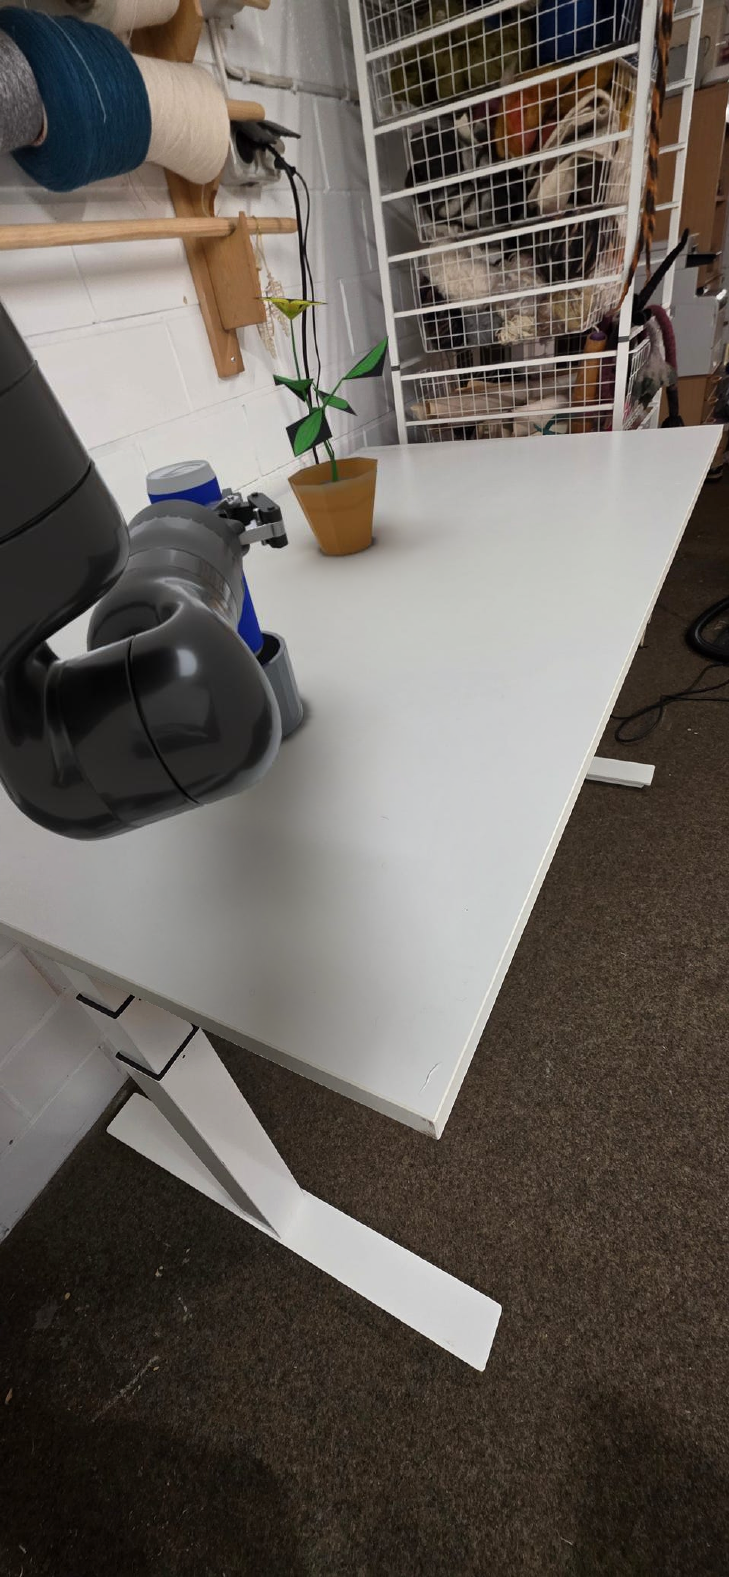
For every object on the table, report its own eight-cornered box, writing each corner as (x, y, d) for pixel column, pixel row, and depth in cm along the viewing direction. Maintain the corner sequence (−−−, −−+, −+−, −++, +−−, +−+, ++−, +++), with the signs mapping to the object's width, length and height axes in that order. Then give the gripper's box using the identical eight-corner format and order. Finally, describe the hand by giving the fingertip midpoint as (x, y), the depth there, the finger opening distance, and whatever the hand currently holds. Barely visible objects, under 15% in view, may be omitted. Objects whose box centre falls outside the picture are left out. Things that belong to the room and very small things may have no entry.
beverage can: (232, 638, 61) (176, 460, 52) (277, 644, 58) (226, 457, 49) (194, 666, 57) (127, 481, 48) (240, 673, 55) (177, 479, 46)
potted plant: (372, 574, 86) (325, 284, 67) (260, 566, 95) (191, 309, 77) (435, 524, 97) (410, 263, 78) (329, 521, 106) (284, 287, 88)
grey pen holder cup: (210, 761, 58) (184, 692, 54) (205, 711, 65) (182, 646, 61) (310, 734, 59) (292, 663, 55) (295, 687, 66) (278, 621, 62)
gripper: (281, 491, 37) (271, 437, 51) (27, 548, 37) (84, 479, 51) (311, 617, 42) (294, 537, 55) (84, 668, 42) (123, 575, 55)
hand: (194, 510), depth 53 cm, fingers closed on beverage can, 5 cm apart
